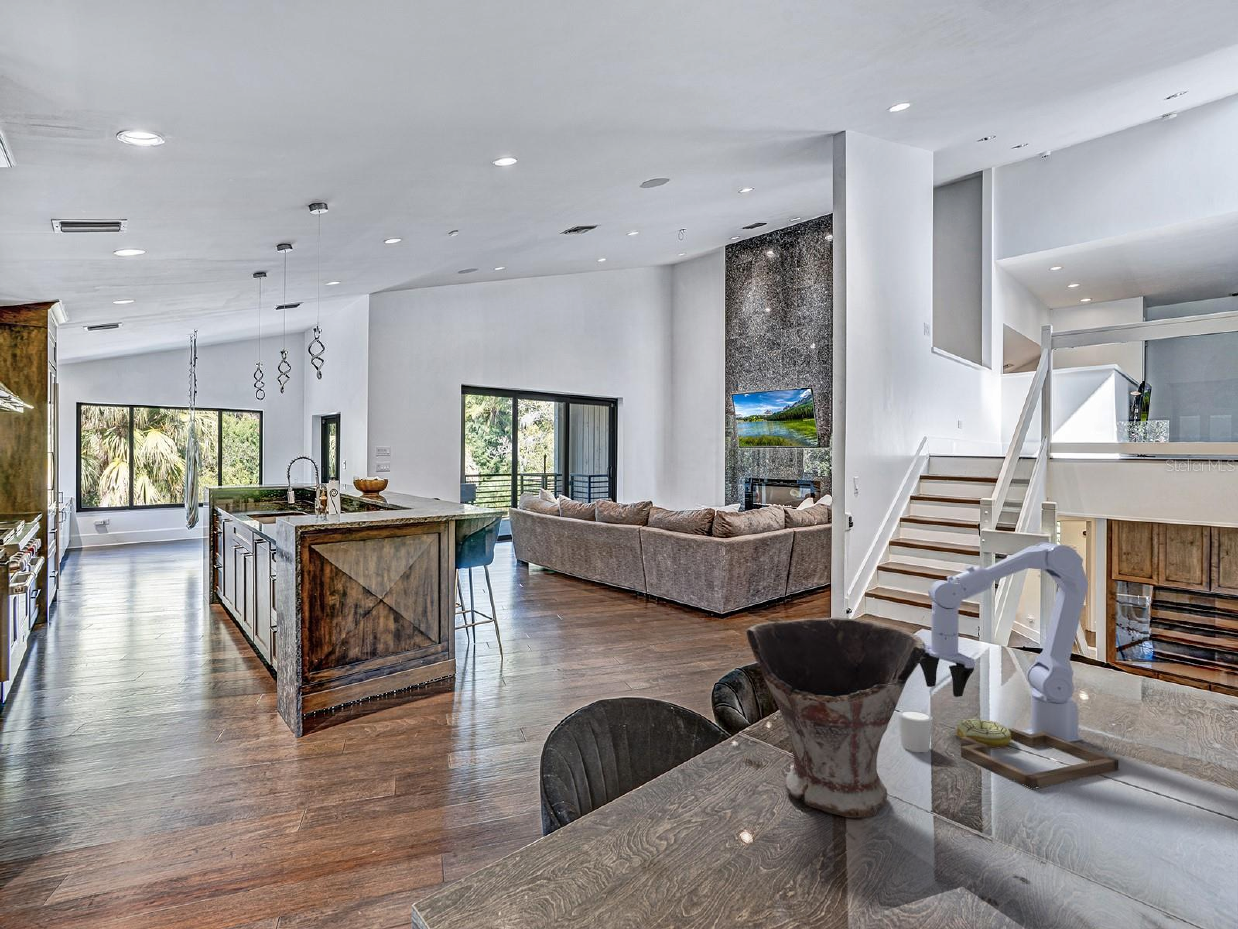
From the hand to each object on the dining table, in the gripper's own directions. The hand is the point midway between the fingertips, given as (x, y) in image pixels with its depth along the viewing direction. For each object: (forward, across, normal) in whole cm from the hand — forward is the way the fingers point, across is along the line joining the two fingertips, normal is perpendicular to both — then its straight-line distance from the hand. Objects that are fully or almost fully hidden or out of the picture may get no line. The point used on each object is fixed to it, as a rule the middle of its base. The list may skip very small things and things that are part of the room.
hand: (944, 691), depth 158 cm
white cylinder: (+9, +6, -15) cm, 19 cm away
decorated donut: (+9, +8, +3) cm, 13 cm away
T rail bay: (+9, +19, +3) cm, 21 cm away
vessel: (+9, +16, -46) cm, 50 cm away
